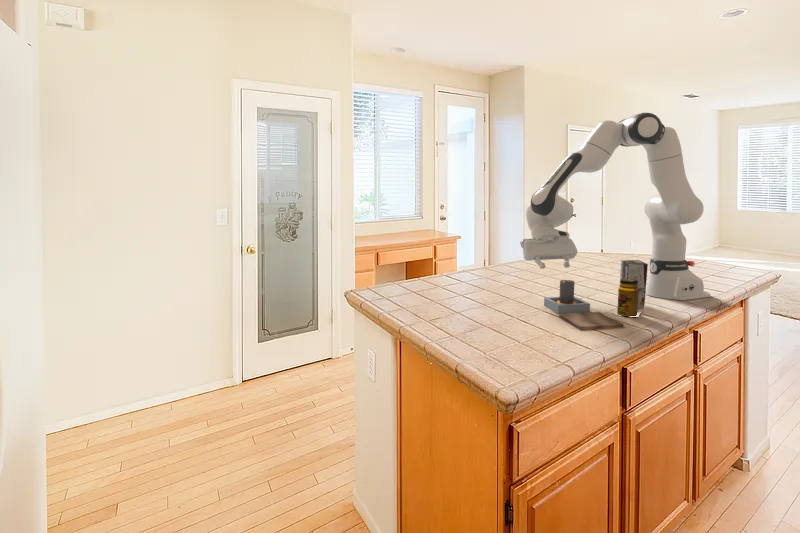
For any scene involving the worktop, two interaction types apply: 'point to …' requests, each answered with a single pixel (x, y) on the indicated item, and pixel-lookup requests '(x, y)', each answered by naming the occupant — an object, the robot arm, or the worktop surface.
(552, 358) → the worktop surface
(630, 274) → the coffee box
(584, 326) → the walnut board
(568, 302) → the plug
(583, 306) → the socket
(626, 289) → the condiment
